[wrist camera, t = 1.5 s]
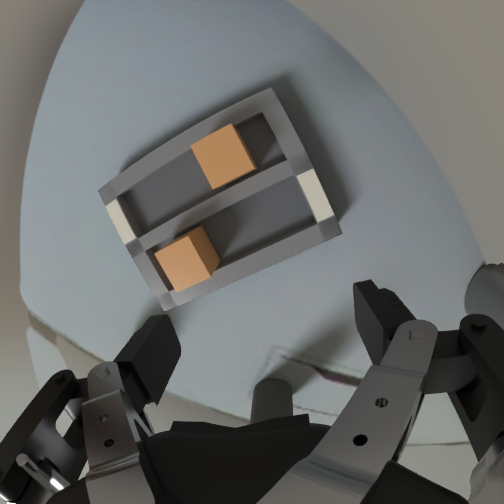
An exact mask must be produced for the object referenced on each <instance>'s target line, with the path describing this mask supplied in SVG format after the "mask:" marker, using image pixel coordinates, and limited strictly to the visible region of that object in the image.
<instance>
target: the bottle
mask: <svg viewBox="0 0 504 504" xmlns="http://www.w3.org/2000/svg"><path fill="white" fill-rule="evenodd" d="M287 416H293V402H292V390H291V387H290V385H289V384H288V383H286V382H284V381H282V380H278V379H267V380H264V381H261V382H260V383H258V384H257V385H256V387H255V389H254V393H253V401H252V409H251V418H250V424H254V423H257V422H261V421H265V420H268V419H272V418H279V417H287Z"/></svg>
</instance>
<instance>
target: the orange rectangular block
mask: <svg viewBox="0 0 504 504" xmlns="http://www.w3.org/2000/svg"><path fill="white" fill-rule="evenodd" d="M155 256H156V258H157V260H158V261H159V263H160V265H161V267H162V268H163V270H164V272H165V273H166V275H167V277H168V279H169V280H170V282H171V284H172V285H173V287H174V289H175V290H176V292H179V291H181V290H184V289H186V288H188V287H190V286H193V285H195V284H197V283H199V282H202V281H204V280H206V279H208V278H210V277H211V276H212V275H213V273H214V271H215V269H216V268H217V266H218V264H219V262H220V261H221V260H220V258H219V256H218V254H217V252H216V250H215V249H214V247H213V245H212V243H211V241H210V239H209V237H208V236H207V234H206V232H205V230H204V228H203V226H202V225H200V226H198V227H196V228H195V229H193V230H191V231H189V232H187V233H185V234H183V235H181V236H179V237H178V238H176V239H174V240H172V241H171V242H169V243H168V244H167V245H165V246H164V247H163V248H161V249H160V250H159V251H157V252H156V253H155Z"/></svg>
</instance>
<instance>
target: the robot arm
mask: <svg viewBox="0 0 504 504" xmlns="http://www.w3.org/2000/svg"><path fill="white" fill-rule="evenodd" d="M353 295H354V309H355V321H356V326H357V329H358V332H359V334H360V336H361V338H362V341H363V343H364V345H365V347H366V350H367V352H368V354H369V356H370V359H371V361H372V363H373V365H372V366H371V367H370V368H369V370H368V371H367V373H366V375H365V376H364V378H363V380H362V381H361V383H360V385H359V386H358V388H357V389H356V391H355V393H354V394H353V396H352V397H351V399H350V400H349V402H348V403H347V405H346V406H345V408H344V409H343V411H342V412H341V414H340V415H339V417H338V418H337V419H336V421H335V422H334V424H333V425H332V426H329V425H324V424H316V423H310V422H309V415H308V414H302V415H295V416H287V417H279V418H272V419H268V420H265V421H261V422H257V423H254V424H250V425H246V426H242V427H237V428H233V427H227V426H221V425H216V424H211V423H206V422H184V421H183V422H182V421H173V424H172V426H171V429H170V430H169V431H164V432H160V433H157V434H155V432H154V429H153V427H152V425H151V423H150V420H149V418H148V415H147V413H146V412H145V410H144V407H145V406H157V405H158V403H159V401H160V399H161V397H162V394H163V392H164V390H165V388H166V386H167V384H168V381H169V379H170V377H171V375H172V373H173V371H174V369H175V367H176V364H177V362H178V360H179V358H180V356H181V346H180V342H179V340H178V337H177V335H176V332H175V330H174V327H173V325H172V322H171V320H170V318H169V316H168V315H166V314H164V315H156V316H150V317H149V319H148V320H147V321H146V323H145V324H144V325H143V327H142V328H141V329H140V330H138V331H137V332H136V333H134V335H133V336H132V337H131V338H130V340H129V341H128V342H127V344H126V345H125V347H124V348H123V349H122V350H121V351H120V353H119V354H118V355H117V357H116V358H115V359H114V361H113V362H111V361H108V362H103V363H100V364H98V365H97V366H95V367H94V368H92V369H91V370H90V372H89V373H88V376H87V378H82V379H77V378H76V377H75V375H74V373H73V372H72V371H71V370H62V371H59V372H57V373H56V374H54V375H53V376H52V377H51V378H50V379H49V380H48V381H47V383H46V384H45V385H44V386H43V387H42V389H41V390H40V391H39V392H38V394H37V395H36V396H35V397H34V399H33V400H32V401H31V403H30V404H29V405H28V406H27V408H26V409H25V410H24V412H23V413H22V414H21V416H20V417H19V418H18V420H17V421H16V422H15V423H14V425H13V426H12V428H11V429H10V430H9V432H8V433H7V434H6V436H5V437H4V439H3V440H2V442H1V443H0V497H2V499H3V500H4V501H5V502H7V503H8V504H504V264H503V263H500V264H499V265H496V264H488V265H485V266H484V267H482V268H481V269H480V270H479V271H478V272H477V273H476V275H475V276H474V277H473V279H472V281H471V282H470V285H469V287H468V290H467V293H466V297H465V308H466V312H467V314H468V315H467V316H465V317H464V318H463V319H462V320H461V322H460V327H459V330H451V331H438V330H437V328H436V326H435V325H434V324H432V323H431V322H429V321H425V320H417V319H416V318H415V317H414V316H413V314H412V313H411V312H410V311H409V309H408V308H407V307H406V306H405V305H404V304H403V302H402V301H401V300H399V298H398V296H397V295H396V294H395V293H394V292H392V291H390V290H388V289H386V288H383V289H378V288H377V286H376V285H375V284H374V282H373V281H372V280H371V279H370V280H366V281H361V282H357V283H354V284H353ZM443 392H447V393H448V395H449V397H450V399H451V401H452V403H453V405H454V407H455V410H456V412H457V414H458V416H459V418H460V420H461V422H462V424H463V427H464V429H465V431H466V433H467V436H468V438H469V440H470V443H471V445H472V447H473V450H474V452H475V455H476V457H477V460H478V463H477V465H476V466H475V468H474V469H473V471H472V474H471V478H470V484H471V494H470V498H469V500H468V501H467V500H466V499H465V498H463V497H462V496H460V495H459V494H457V493H455V492H453V491H450V490H448V489H446V488H444V487H442V486H440V485H438V484H436V483H434V482H432V481H430V480H428V479H426V478H424V477H422V476H420V475H418V474H417V473H415V472H413V471H411V470H409V469H407V468H406V467H404V466H402V465H400V464H399V463H398V461H399V459H400V457H401V455H402V453H403V451H404V448H405V446H406V443H407V441H408V438H409V436H410V433H411V431H412V429H413V426H414V424H415V421H416V419H417V416H418V414H419V411H420V408H421V406H422V403H423V400H424V397H425V394H434V393H443ZM64 409H65V411H66V412H67V413H68V415H69V416H70V417H71V419H72V420H73V422H72V424H71V425H70V427H69V429H68V430H67V432H66V434H65V435H64V437H62V436H61V435H60V434H59V433H58V432H57V430H56V426H55V424H56V420H57V419H58V417H59V416H60V414H61V413H62V411H63V410H64ZM87 459H88V463H89V472H88V473H87V474H86V476H85V477H84V478H82V479H80V480H78V478H79V476H80V474H81V472H82V470H83V468H84V466H85V464H86V462H87Z"/></svg>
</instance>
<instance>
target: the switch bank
mask: <svg viewBox="0 0 504 504" xmlns="http://www.w3.org/2000/svg"><path fill="white" fill-rule="evenodd" d="M229 124H232V125H233V126H234V127H235V128H236V129H237V130H238V131H239V133H240V135H241V137H242V139H243V141H244V143H245V144H246V146H247V148H248V150H249V152H250V154H251V156H252V158H253V160H254V162H255V164H256V166H257V168H258V169H256V170H254V171H252V172H250V173H248V174H246V175H244V176H242V177H240V178H238V179H236V180H234V181H232V182H230V183H228V184H226V185H224V186H221V187H219V188H216V189H212V187H211V185H210V183H209V181H208V179H207V177H206V176H205V174H204V172H203V170H202V168H201V166H200V164H199V162H198V160H197V158H196V156H195V154H194V152H193V150H192V148H191V146H190V145H192V144H194V143H196V142H197V141H199V140H201V139H203V138H205V137H206V136H208V135H210V134H212V133H214V132H216V131H217V130H219V129H221V128H223V127H225V126H227V125H229ZM98 192H99V194H100V196H101V198H102V200H103V202H104V204H105V207H106V209H107V211H108V213H109V215H110V217H111V219H112V221H113V223H114V225H115V227H116V229H117V231H118V233H119V235H120V237H121V239H122V241H123V242H124V244H125V246H126V247H127V249H128V251H129V253H130V255H131V257H132V258H133V260H134V262H135V264H136V265H137V267H138V269H139V271H140V272H141V274H142V276H143V278H144V279H145V281H146V283H147V284H148V286H149V288H150V289H151V291H152V292H153V294H154V296H155V297H156V299H157V301H158V302H159V304H160V305H161V307H162V308H163V310H164V312H165V311H167V310H170V309H172V308H175V307H177V306H179V305H182V304H184V303H187V302H189V301H191V300H194V299H196V298H198V297H201V296H203V295H205V294H208V293H210V292H212V291H215V290H217V289H219V288H222V287H224V286H226V285H229V284H231V283H233V282H236V281H238V280H240V279H242V278H245V277H247V276H249V275H252V274H254V273H256V272H258V271H261V270H263V269H265V268H267V267H270V266H272V265H274V264H277V263H279V262H281V261H283V260H285V259H288V258H290V257H292V256H294V255H297V254H299V253H301V252H303V251H305V250H308V249H310V248H312V247H314V246H317V245H319V244H321V243H323V242H325V241H327V240H330V239H332V238H334V237H336V236H338V235H341V234H343V233H342V231H341V228H340V226H339V223H338V221H337V219H336V216H335V214H334V212H333V209H332V207H331V205H330V202H329V200H328V198H327V195H326V193H325V191H324V189H323V187H322V184H321V182H320V180H319V178H318V176H317V174H316V171H315V169H314V167H313V165H312V163H311V161H310V159H309V157H308V155H307V153H306V151H305V149H304V147H303V145H302V143H301V141H300V139H299V137H298V135H297V133H296V131H295V129H294V127H293V125H292V123H291V122H290V120H289V118H288V116H287V114H286V112H285V111H284V109H283V107H282V105H281V103H280V102H279V100H278V98H277V96H276V94H275V93H274V91H273V89H272V88H271V87H270V88H267V89H265V90H263V91H261V92H259V93H256V94H254V95H252V96H250V97H248V98H246V99H244V100H242V101H239V102H237V103H235V104H233V105H231V106H229V107H227V108H226V109H224V110H222V111H220V112H218V113H216V114H214V115H212V116H210V117H209V118H207V119H205V120H203V121H201V122H199V123H198V124H196V125H194V126H192V127H191V128H189V129H187V130H186V131H184V132H182V133H181V134H179V135H177V136H176V137H174V138H172V139H171V140H169V141H167V142H166V143H164V144H163V145H161V146H160V147H158V148H156V149H155V150H153V151H152V152H150V153H149V154H147V155H146V156H144V157H143V158H141V159H140V160H139V161H137V162H136V163H134V164H133V165H131V166H130V167H129V168H127V169H126V170H124V171H123V172H122V173H120V174H119V175H117V176H116V177H115V178H113V179H112V180H111V181H109V182H108V183H107V184H106V185H104V186H103V187H102V188H100V189H99V190H98ZM200 225H202V226H203V228H204V230H205V232H206V234H207V236H208V237H209V239H210V241H211V243H212V245H213V247H214V249H215V250H216V252H217V254H218V256H219V258H220V260H221V261H220V262H219V264H218V266H217V268H216V269H215V271H214V273H213V275H212V276H211V277H210V278H208V279H206V280H204V281H202V282H199V283H197V284H195V285H193V286H190V287H188V288H186V289H184V290H181V291H179V292H176V290H175V289H174V287H173V285H172V284H171V282H170V280H169V279H168V277H167V275H166V273H165V272H164V270H163V268H162V267H161V265H160V263H159V261H158V260H157V258H156V256H155V253H156V252H157V251H159V250H160V249H161V248H163V247H164V246H165V245H167V244H168V243H169V242H171V241H172V240H174V239H176V238H178V237H179V236H181V235H183V234H185V233H187V232H189V231H191V230H193V229H195V228H196V227H198V226H200Z"/></svg>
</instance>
